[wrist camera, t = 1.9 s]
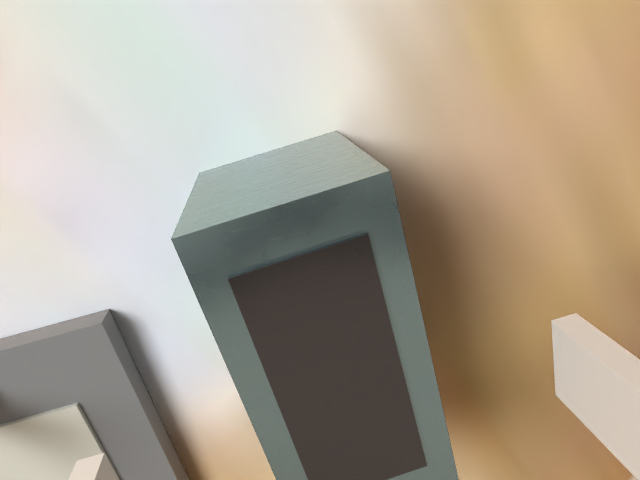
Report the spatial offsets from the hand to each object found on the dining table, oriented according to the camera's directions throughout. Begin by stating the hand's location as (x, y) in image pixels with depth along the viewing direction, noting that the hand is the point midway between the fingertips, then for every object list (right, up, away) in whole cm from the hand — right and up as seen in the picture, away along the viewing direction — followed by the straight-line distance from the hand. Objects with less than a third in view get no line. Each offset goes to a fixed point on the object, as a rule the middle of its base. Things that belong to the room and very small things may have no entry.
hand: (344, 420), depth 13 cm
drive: (-1, +4, +8) cm, 9 cm away
